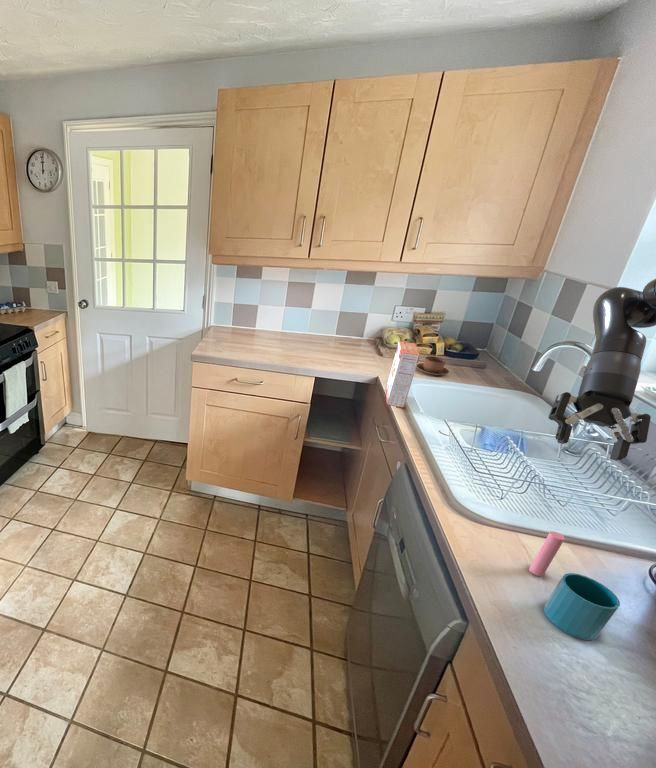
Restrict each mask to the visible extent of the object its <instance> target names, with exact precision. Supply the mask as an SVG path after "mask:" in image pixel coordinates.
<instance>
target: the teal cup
mask: <svg viewBox="0 0 656 768" xmlns="http://www.w3.org/2000/svg"><path fill="white" fill-rule="evenodd" d="M560 578H561V579H560V580H559V582H558V583H557V585H556V586H555V588H554V590H553V591H552V592H551V594H550V596H549V597H548V599H547V601H546V602H545V604H544V607H543V612H544V614H545V616H546V618H547V619H548V620H549V621H550V623H552V624H553V625H554V626H556V628H558V629H560V630H561V631H563V632H565V634H568V635H569V636H572V637H574V638H577V639H580V640H584V641H593V640H596V639H597V638H598V636H599V635H600V634H601V632H602V631H603V630H604V628H605V627H606V626H607V624H608V623H609V622H610V620H611V619H612V617H613V616H614V615H615V613H616V612H617V611H618V609H619V608H620V607H621V601H620V599H619V598H618V596H617V595H616V594H615V593H614V592H613V591H612V590H611V589H610V588H608V586H606V585H604V584H602V583H601V582H598V581H597V580H595V579H594V578H591V577H588V576H587V575H582V574H579V573H572V572H569V573H565V574H563V576H562V577H560Z"/></svg>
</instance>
